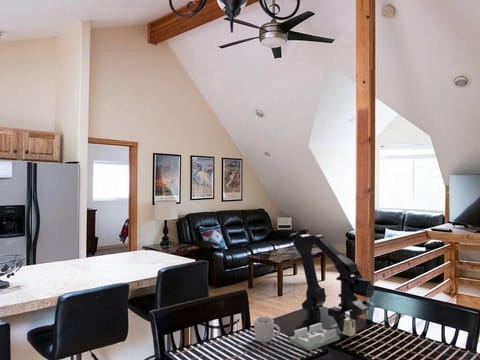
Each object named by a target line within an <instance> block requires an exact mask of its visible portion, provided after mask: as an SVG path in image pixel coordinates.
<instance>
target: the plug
mask: <svg viewBox="0 0 480 360" xmlns="http://www.w3.org/2000/svg"><path fill="white" fill-rule="evenodd" d="M346 317H347V318H346V319H345V320H344V329H343V332H340V333H341V334H343V335H345V336H348V337H353V336H355V335H356V326H355V320H353V319H350V318H349V317H348V316H346Z"/></svg>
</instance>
